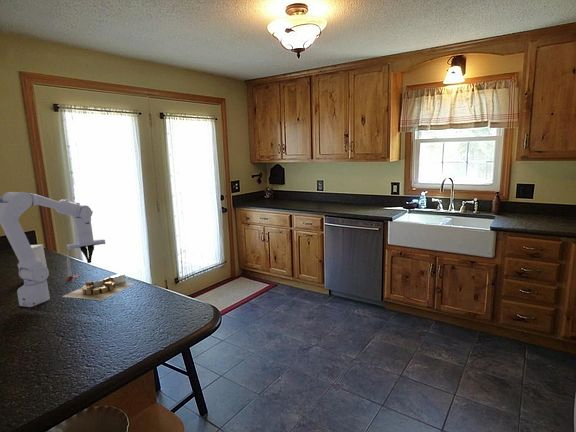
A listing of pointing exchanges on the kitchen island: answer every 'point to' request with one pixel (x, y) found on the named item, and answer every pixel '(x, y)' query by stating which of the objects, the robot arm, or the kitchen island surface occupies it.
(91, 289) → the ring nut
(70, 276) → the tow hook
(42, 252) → the skincare box
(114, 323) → the kitchen island surface
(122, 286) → the spindle board
